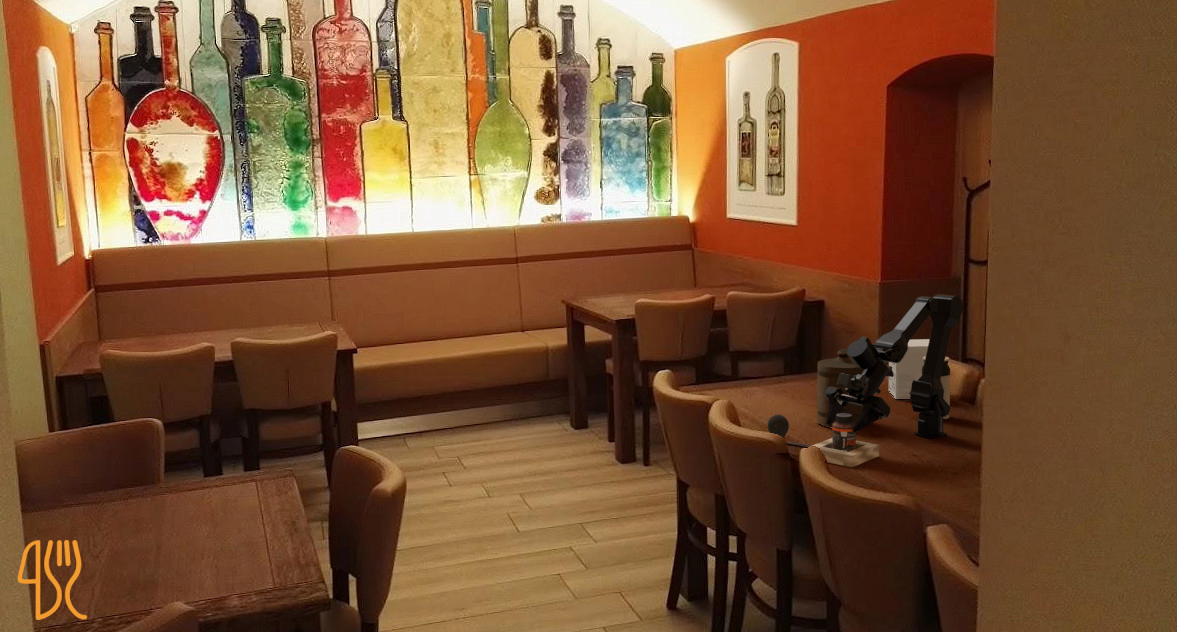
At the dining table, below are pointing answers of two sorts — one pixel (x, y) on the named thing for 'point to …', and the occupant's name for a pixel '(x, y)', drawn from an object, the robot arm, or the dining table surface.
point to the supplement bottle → (843, 433)
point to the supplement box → (908, 369)
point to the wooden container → (835, 385)
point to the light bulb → (778, 425)
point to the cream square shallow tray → (849, 453)
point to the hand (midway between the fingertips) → (840, 427)
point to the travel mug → (945, 381)
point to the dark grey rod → (798, 444)
